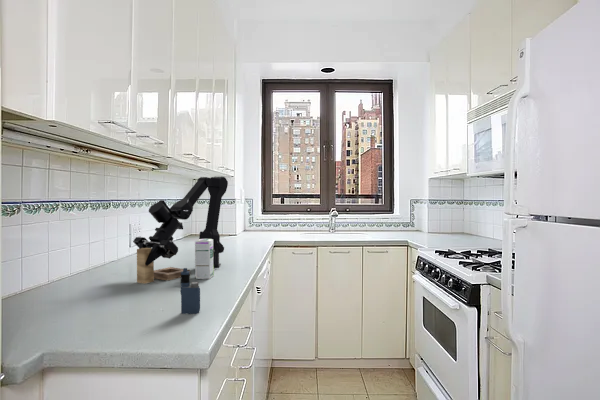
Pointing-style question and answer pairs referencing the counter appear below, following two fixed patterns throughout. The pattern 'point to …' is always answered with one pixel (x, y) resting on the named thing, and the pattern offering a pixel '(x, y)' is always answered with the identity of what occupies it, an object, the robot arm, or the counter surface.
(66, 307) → the counter surface
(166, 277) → the socket
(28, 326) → the counter surface
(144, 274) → the peg
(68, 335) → the counter surface
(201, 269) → the syrup box
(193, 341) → the counter surface
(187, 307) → the vaping device
